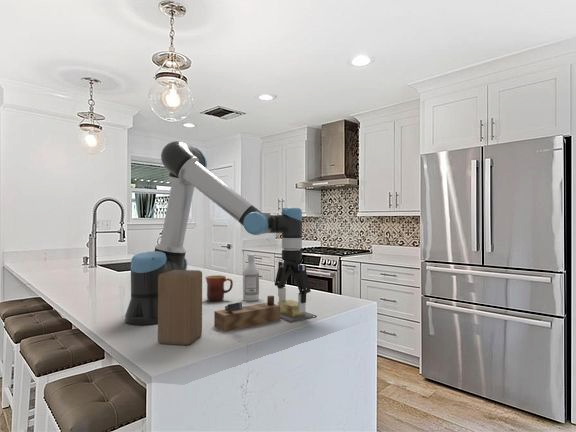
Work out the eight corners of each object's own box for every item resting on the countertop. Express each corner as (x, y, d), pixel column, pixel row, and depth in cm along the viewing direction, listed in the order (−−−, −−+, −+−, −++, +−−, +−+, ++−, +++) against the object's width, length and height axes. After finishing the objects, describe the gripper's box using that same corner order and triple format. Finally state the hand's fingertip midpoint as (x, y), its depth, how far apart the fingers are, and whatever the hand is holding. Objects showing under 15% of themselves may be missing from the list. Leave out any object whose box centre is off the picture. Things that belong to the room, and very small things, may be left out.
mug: (202, 302, 158) (202, 278, 158) (208, 297, 167) (209, 275, 167) (230, 302, 157) (230, 278, 157) (234, 298, 166) (235, 275, 166)
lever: (225, 312, 122) (238, 310, 115) (224, 305, 123) (237, 302, 116) (230, 311, 123) (244, 309, 116) (229, 304, 124) (243, 301, 117)
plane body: (224, 331, 117) (224, 306, 117) (214, 326, 123) (214, 302, 123) (280, 320, 131) (280, 297, 131) (269, 315, 136) (269, 294, 136)
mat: (290, 322, 128) (290, 320, 128) (267, 314, 139) (267, 312, 139) (316, 317, 135) (316, 315, 135) (292, 309, 146) (292, 307, 146)
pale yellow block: (292, 317, 131) (292, 306, 132) (277, 312, 139) (277, 301, 139) (305, 315, 135) (305, 304, 135) (290, 310, 142) (290, 299, 142)
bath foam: (261, 300, 162) (261, 254, 162) (246, 302, 159) (247, 255, 159) (254, 297, 168) (255, 253, 168) (240, 298, 165) (240, 254, 165)
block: (156, 344, 105) (156, 274, 105) (172, 333, 115) (172, 269, 115) (189, 346, 104) (189, 274, 104) (203, 335, 113) (203, 270, 114)
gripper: (320, 251, 130) (320, 313, 130) (281, 246, 149) (281, 301, 148) (304, 252, 125) (304, 316, 125) (265, 247, 144) (265, 303, 144)
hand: (291, 308), depth 137 cm, fingers open, 11 cm apart
